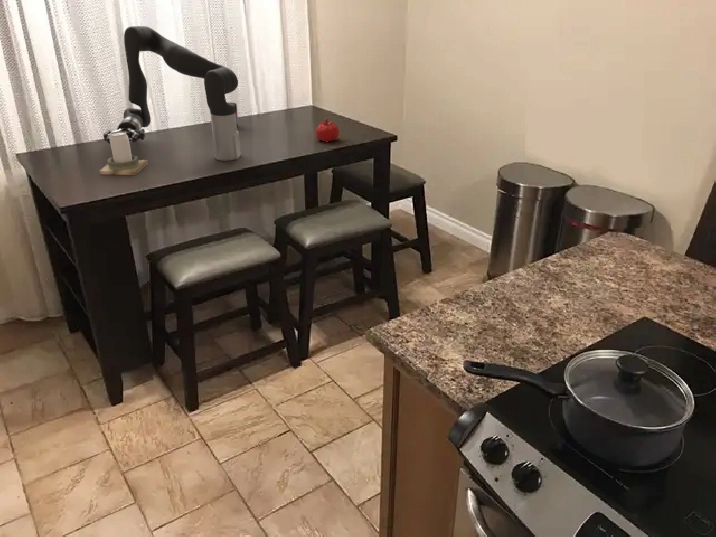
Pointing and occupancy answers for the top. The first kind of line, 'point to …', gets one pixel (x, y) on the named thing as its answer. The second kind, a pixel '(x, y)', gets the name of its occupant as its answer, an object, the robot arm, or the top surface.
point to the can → (120, 147)
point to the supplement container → (235, 113)
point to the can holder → (124, 167)
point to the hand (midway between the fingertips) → (121, 140)
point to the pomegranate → (327, 131)
